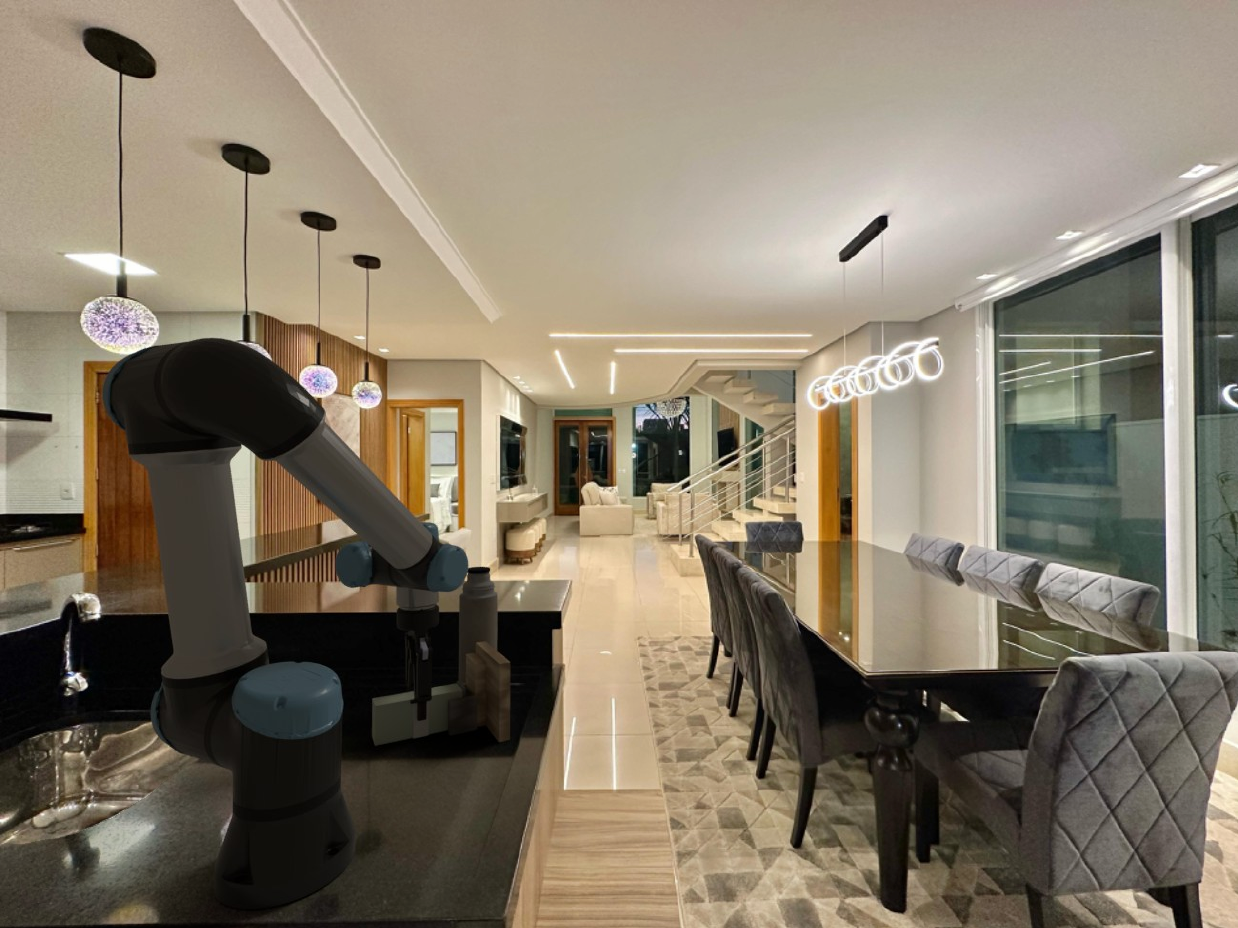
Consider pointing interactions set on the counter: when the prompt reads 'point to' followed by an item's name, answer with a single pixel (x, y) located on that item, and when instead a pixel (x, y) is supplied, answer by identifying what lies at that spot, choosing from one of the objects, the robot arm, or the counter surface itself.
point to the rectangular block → (410, 713)
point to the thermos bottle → (476, 615)
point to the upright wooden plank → (483, 695)
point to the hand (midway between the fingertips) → (418, 730)
